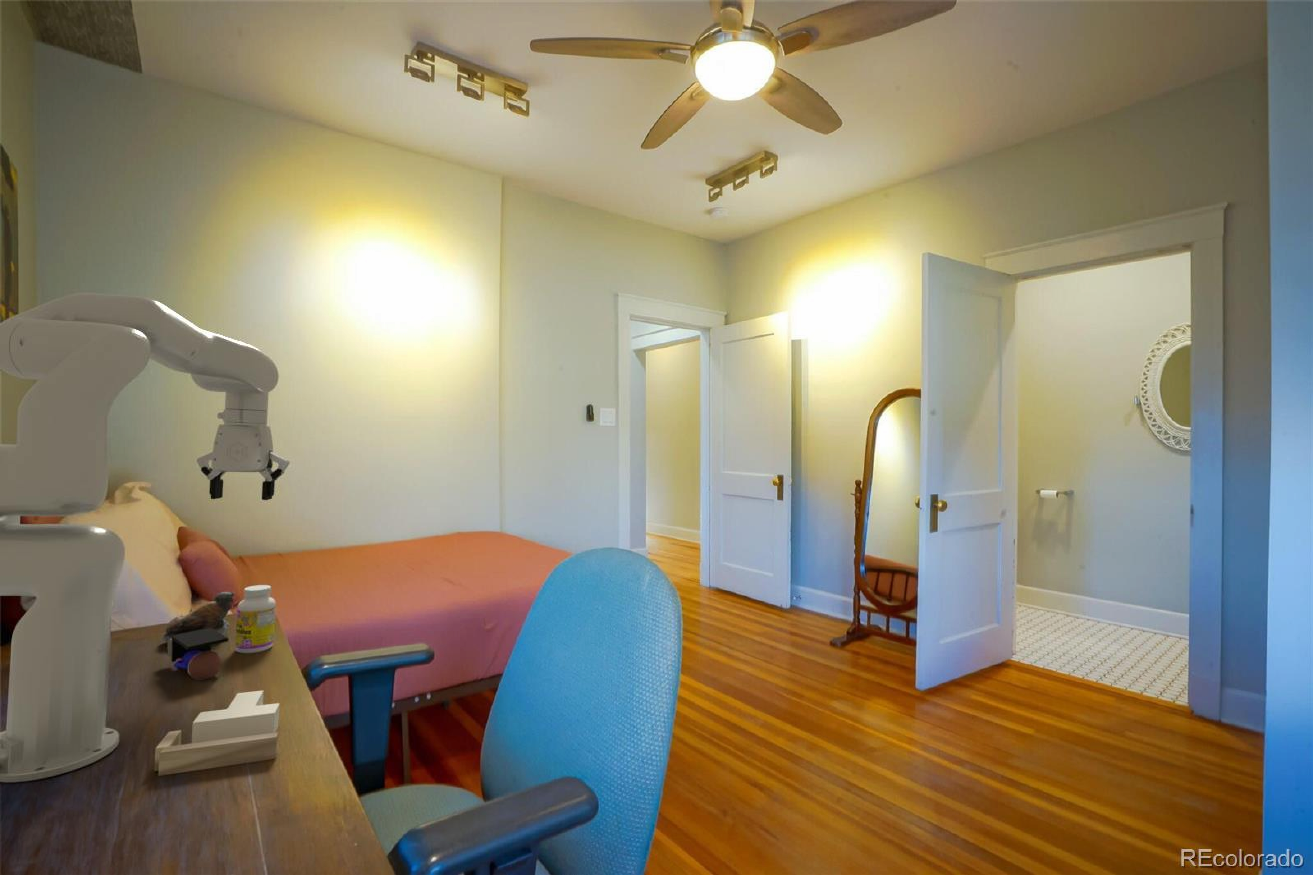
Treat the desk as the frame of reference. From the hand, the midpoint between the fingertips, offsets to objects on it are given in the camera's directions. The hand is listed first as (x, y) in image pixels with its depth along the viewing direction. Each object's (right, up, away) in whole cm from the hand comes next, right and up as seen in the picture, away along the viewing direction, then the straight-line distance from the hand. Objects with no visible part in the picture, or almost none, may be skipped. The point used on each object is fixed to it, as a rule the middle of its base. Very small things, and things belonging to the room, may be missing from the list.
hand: (241, 499), depth 124 cm
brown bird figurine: (-11, -31, +2) cm, 33 cm away
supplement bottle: (+4, -32, -2) cm, 32 cm away
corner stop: (+28, -31, -43) cm, 60 cm away
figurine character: (+1, -31, -14) cm, 34 cm away
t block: (+25, -31, -35) cm, 53 cm away
